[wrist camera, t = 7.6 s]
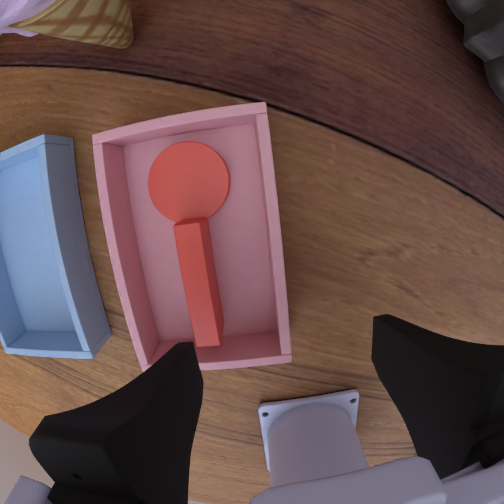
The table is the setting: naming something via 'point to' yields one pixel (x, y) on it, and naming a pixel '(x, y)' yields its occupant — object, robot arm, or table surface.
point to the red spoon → (193, 225)
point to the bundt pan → (484, 36)
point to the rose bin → (221, 231)
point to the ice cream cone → (70, 20)
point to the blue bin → (46, 255)
